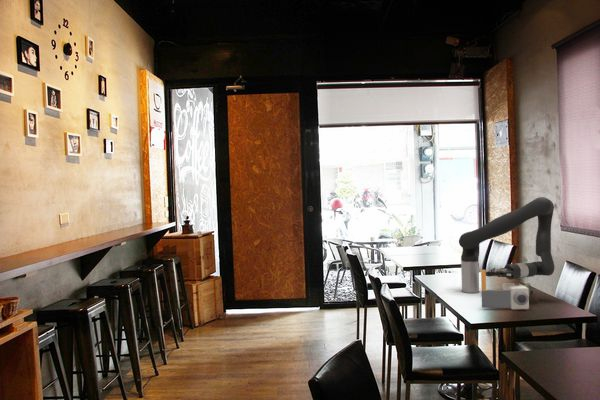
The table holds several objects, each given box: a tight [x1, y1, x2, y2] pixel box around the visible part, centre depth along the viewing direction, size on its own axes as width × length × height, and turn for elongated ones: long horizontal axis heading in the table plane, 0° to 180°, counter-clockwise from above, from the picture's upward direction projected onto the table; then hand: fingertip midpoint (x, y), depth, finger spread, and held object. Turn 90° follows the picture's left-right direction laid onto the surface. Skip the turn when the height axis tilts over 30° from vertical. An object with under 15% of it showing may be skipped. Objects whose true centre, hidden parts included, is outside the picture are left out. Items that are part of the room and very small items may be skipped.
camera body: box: [502, 281, 530, 310], centre depth 244 cm, size 14×8×11 cm, turn 177°
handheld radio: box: [522, 282, 534, 297], centre depth 261 cm, size 7×3×25 cm
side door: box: [480, 269, 511, 309], centre depth 240 cm, size 13×1×18 cm, turn 78°
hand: (486, 274), depth 243 cm, fingers closed
